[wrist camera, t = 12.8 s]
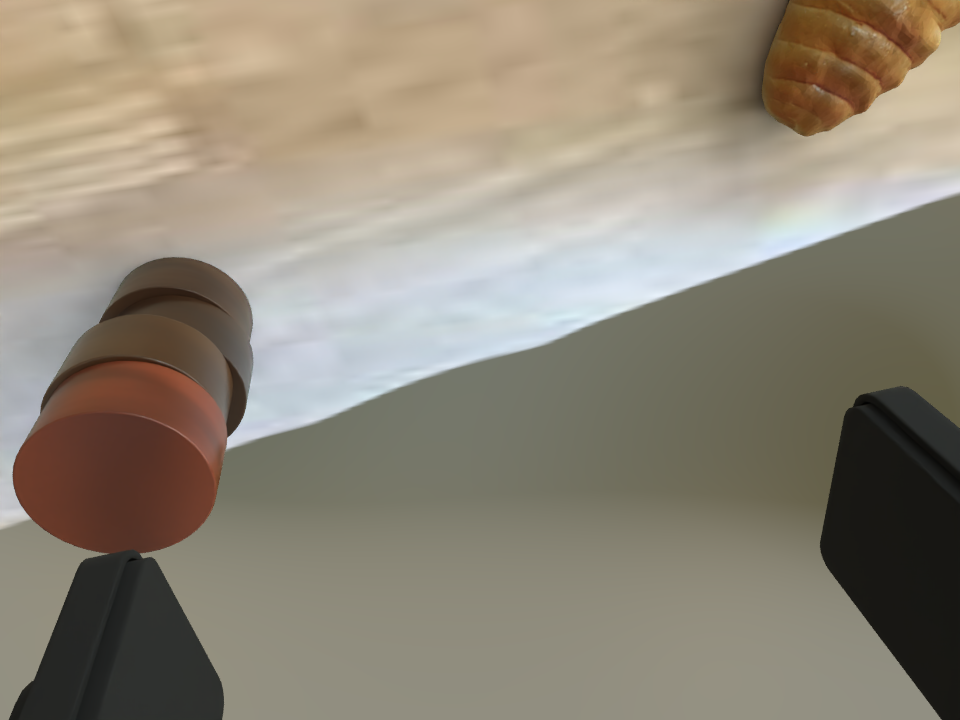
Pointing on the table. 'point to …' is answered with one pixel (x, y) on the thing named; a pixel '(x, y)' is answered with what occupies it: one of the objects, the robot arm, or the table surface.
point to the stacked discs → (176, 331)
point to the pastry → (847, 56)
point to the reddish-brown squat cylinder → (123, 458)
